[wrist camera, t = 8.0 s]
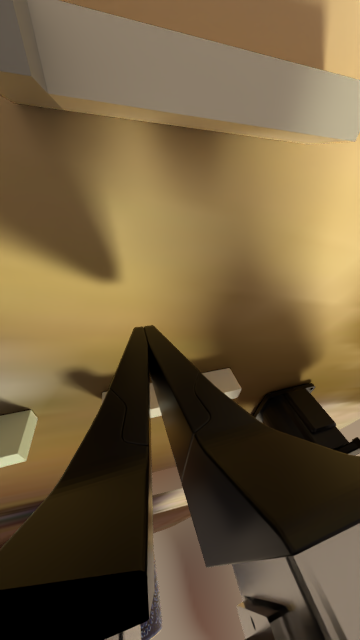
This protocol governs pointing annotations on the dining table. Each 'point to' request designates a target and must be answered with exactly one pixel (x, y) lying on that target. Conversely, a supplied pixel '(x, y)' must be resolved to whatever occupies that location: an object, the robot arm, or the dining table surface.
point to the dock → (167, 85)
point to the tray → (16, 436)
